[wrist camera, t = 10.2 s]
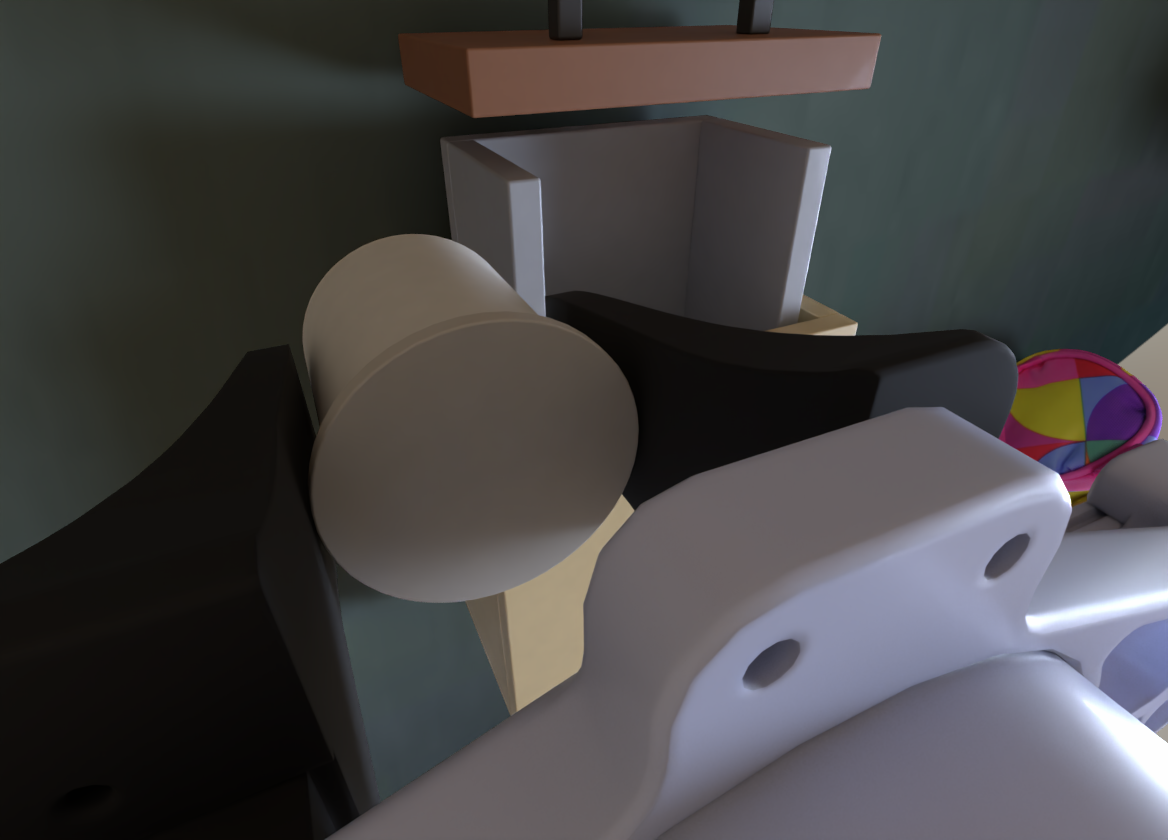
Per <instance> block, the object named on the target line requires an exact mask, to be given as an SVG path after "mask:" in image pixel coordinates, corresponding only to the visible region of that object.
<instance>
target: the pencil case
mask: <svg viewBox="0 0 1168 840" xmlns="http://www.w3.org/2000/svg"><path fill="white" fill-rule="evenodd" d="M1016 364H1017V368H1018V374H1019V375H1018V385H1017V393H1016V396H1015V399H1014V402H1013V405H1012V408H1011V411H1010V413H1009V416H1008V418H1007V420H1006V423H1005V425H1004V428H1003V430H1002V432H1001V435H1000V437H999V440H1001V441H1003V442H1004V443H1006V444H1008V445H1010V446H1011V447H1013V448H1015V449H1017V450H1018V451H1020V452H1022V453H1023V454H1025V455H1027V456H1029V457H1030V458H1032V459H1034V460H1036V461H1037V462H1039V463H1041V464H1043V465H1044V466H1046V467H1048V468H1050V469H1051V470H1053V471H1055V472H1056V473H1058V474H1059V476H1060V478H1061V480H1062V482H1063V484H1064V486H1065V488H1066V490H1067V492H1068V494H1069V496H1070V501H1071V506H1072V508H1073V507H1075V506H1077V505H1080V504H1082V503H1084V502H1087V494H1088V492H1089V490H1090V488H1091V486H1092V484H1093V482H1094V480H1095V478H1096V477H1097V475H1098V474H1099V472H1100V471H1101V470H1102V468H1103V467H1104V466H1105V465H1106V464H1107V463H1108V462H1109V461H1110V460H1112V459H1113V458H1115V457H1116V456H1118V455H1120V454H1123V453H1125V452H1127V451H1130V450H1132V449H1135V448H1137V447H1139V446H1142V445H1144V444H1147V443H1149V442H1151V441H1154V440H1157V439H1158V436H1159V433H1160V429H1161V425H1162V412H1161V409H1160V406H1159V404H1158V401H1157V399H1156V397H1155V396H1154V394H1153V393H1152V392H1151V391H1150V390H1149V389H1148V388H1147V387H1146V386H1145V385H1144V384H1143V383H1142V382H1141V381H1139V380H1138V379H1137V378H1136V377H1135V376H1133V375H1132V374H1130V373H1129V372H1128V371H1126V370H1125V369H1123V368H1122V367H1120V366H1119V365H1117V364H1115V363H1113V362H1111V361H1110V360H1108V359H1106V358H1103V357H1101V356H1099V355H1097V354H1094V353H1091V352H1087V351H1082V350H1075V349H1056V350H1048V351H1042V352H1038V353H1035V354H1033V355H1030V356H1028V357H1026V358H1024V359H1022V360H1021V361H1019V362H1018V363H1016Z"/></svg>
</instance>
